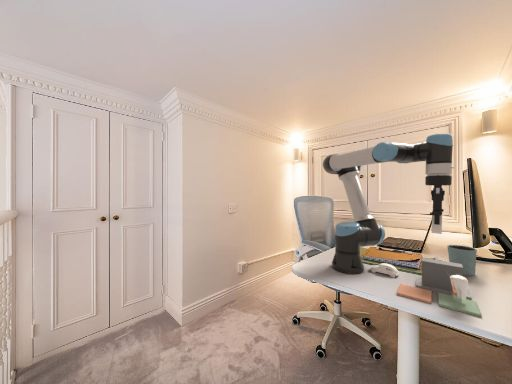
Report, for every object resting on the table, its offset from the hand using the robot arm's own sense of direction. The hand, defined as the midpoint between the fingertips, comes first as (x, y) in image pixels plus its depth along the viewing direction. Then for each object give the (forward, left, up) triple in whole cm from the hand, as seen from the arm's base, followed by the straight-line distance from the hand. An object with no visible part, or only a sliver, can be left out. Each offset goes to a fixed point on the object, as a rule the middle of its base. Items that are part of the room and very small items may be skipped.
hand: (436, 230), depth 79 cm
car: (-19, +10, -25) cm, 33 cm away
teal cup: (+9, +35, -25) cm, 44 cm away
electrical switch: (0, +18, -25) cm, 31 cm away
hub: (+1, +5, -25) cm, 25 cm away
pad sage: (+5, -6, -25) cm, 26 cm away
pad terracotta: (-7, -6, -25) cm, 26 cm away
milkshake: (+5, -5, -24) cm, 25 cm away
